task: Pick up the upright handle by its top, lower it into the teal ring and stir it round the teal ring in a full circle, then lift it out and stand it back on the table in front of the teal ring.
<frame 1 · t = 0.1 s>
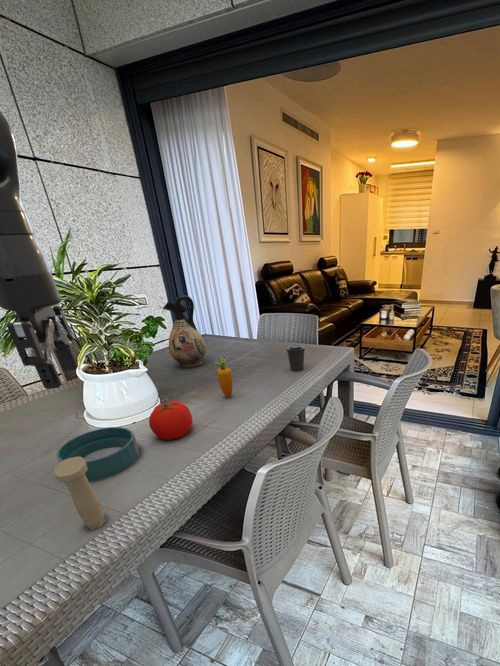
hand: (63, 378, 58), 31 cm above the table, tool pointing down, fingers open, 8 cm apart
teal ring: (104, 463, 92), on the table
coffee cup: (297, 369, 150), on the table
ceramic jug: (193, 364, 160), on the table
tomato: (175, 435, 104), on the table
carrot: (228, 399, 125), on the table
handle: (97, 526, 72), on the table
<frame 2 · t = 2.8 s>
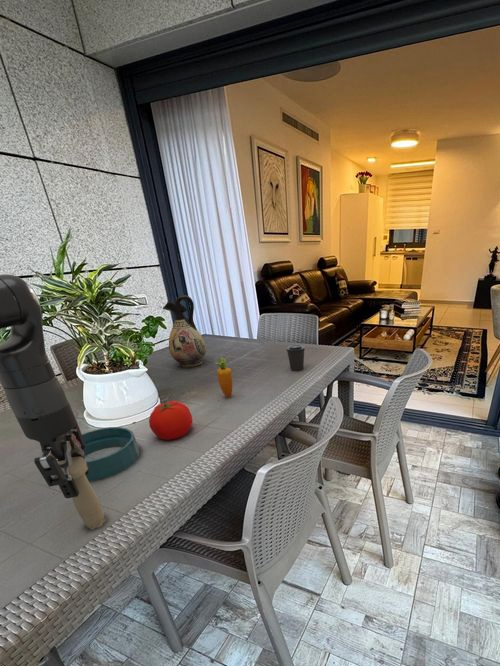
hand: (78, 484, 67), 11 cm above the table, tool pointing down, fingers closed on handle, 6 cm apart
handle: (97, 526, 72), on the table, touching gripper
everything else where it was.
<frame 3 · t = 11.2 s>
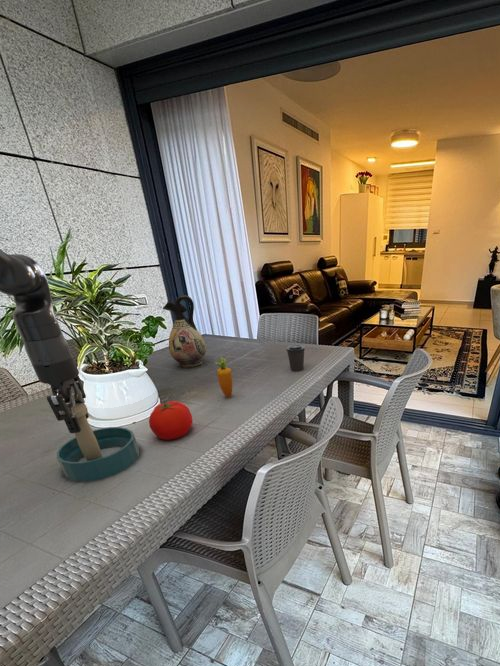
hand: (80, 425, 84), 13 cm above the table, tool pointing down, fingers closed on handle, 6 cm apart
handle: (96, 462, 89), point 2 cm above the table, touching gripper
everything else where it was.
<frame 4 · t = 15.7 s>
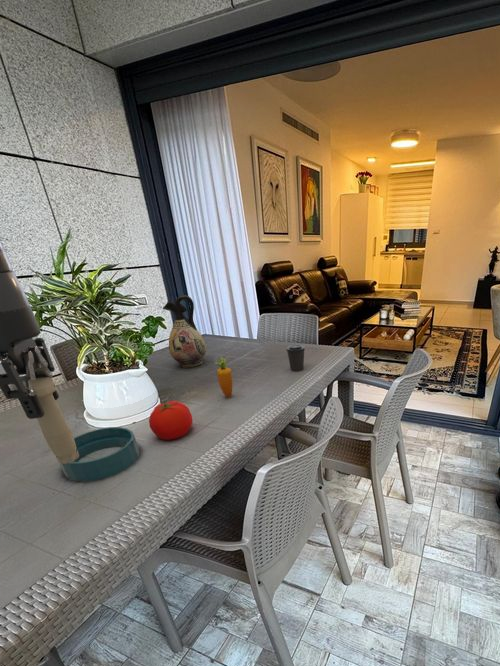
hand: (44, 407, 60), 27 cm above the table, tool pointing down, fingers closed on handle, 6 cm apart
handle: (70, 460, 65), point 16 cm above the table, touching gripper
everything else where it was.
when the fingers open (11 cm above the table, at t = 19.7 s): handle stays where it is, on the table.
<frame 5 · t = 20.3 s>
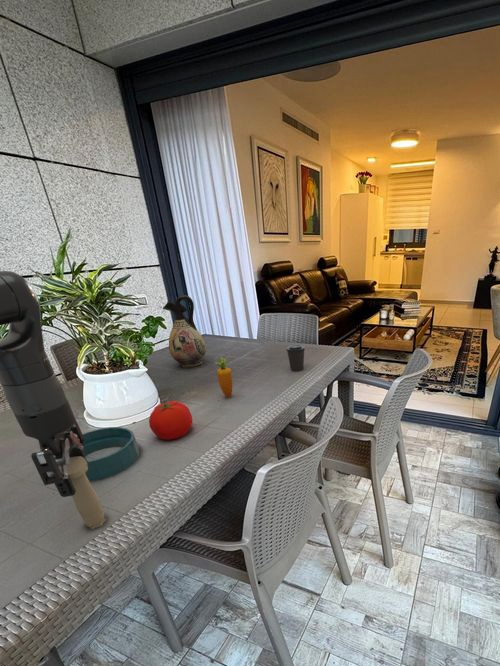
hand: (76, 480, 66), 12 cm above the table, tool pointing down, fingers open, 8 cm apart
handle: (98, 526, 72), on the table
everything else where it was.
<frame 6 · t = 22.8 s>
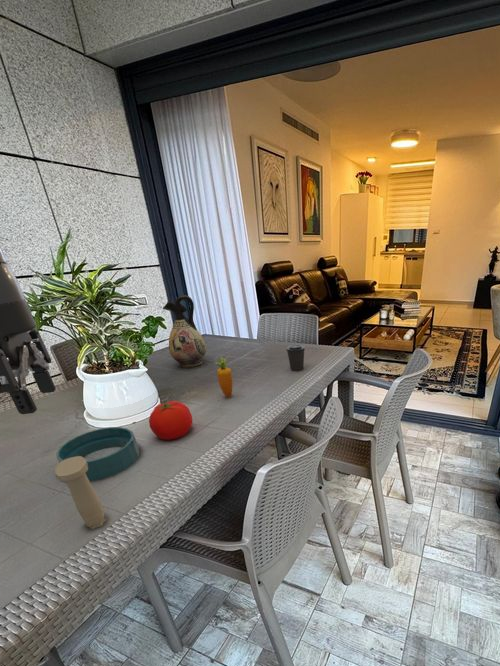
hand: (39, 401, 58), 28 cm above the table, tool pointing down, fingers open, 8 cm apart
nothing on the table moved.
at the end: handle inside the target area on the table beside the teal ring (0.1 cm from its centre), on the table; handle tilted 0°; the gripper is holding nothing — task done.
